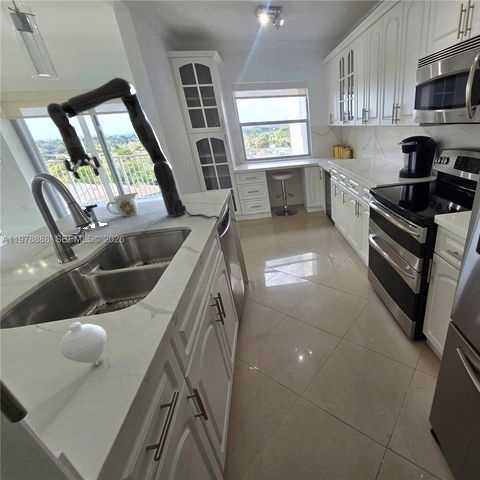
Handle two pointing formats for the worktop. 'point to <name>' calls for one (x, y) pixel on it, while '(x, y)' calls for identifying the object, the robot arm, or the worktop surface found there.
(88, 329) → the spinning top
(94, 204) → the lever
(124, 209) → the pitcher
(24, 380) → the worktop surface
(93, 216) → the toaster bracket
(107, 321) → the worktop surface
